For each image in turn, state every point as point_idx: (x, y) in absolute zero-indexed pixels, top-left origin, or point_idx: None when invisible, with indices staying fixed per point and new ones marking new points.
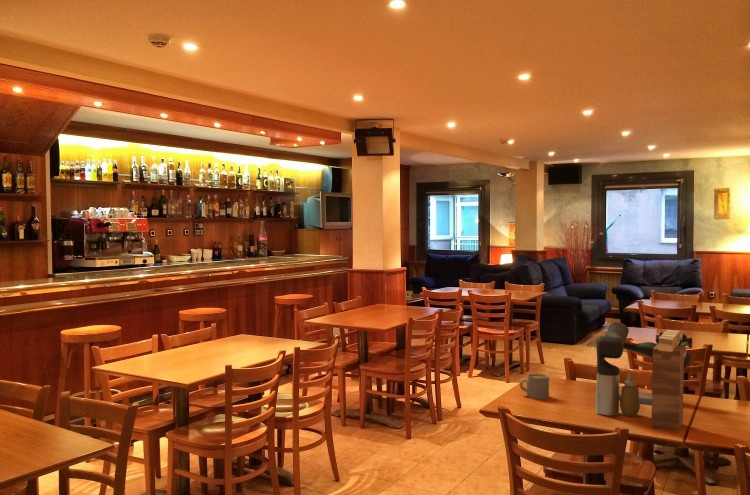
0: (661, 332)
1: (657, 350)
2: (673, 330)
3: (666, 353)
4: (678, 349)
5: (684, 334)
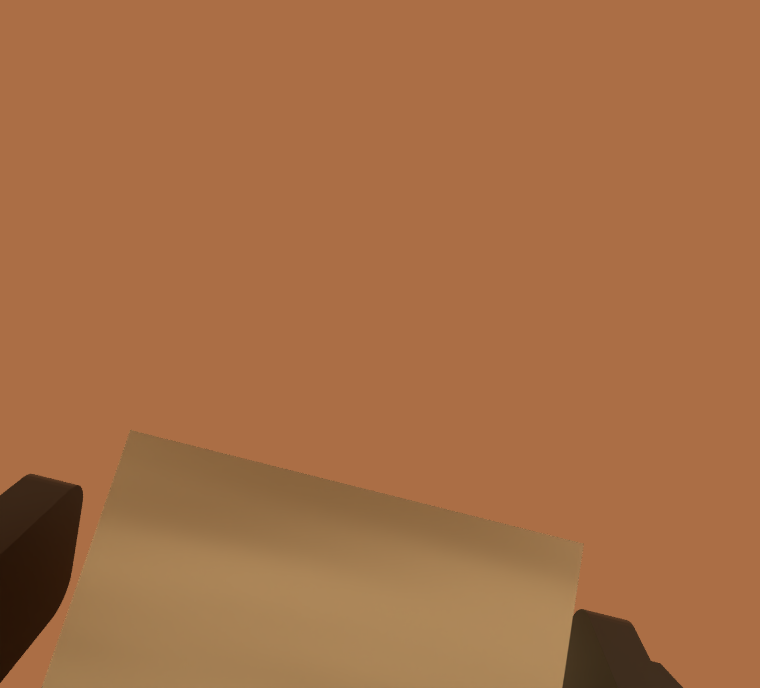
0: (602, 622)
1: None
2: (350, 488)
3: None
4: None
5: (21, 489)
